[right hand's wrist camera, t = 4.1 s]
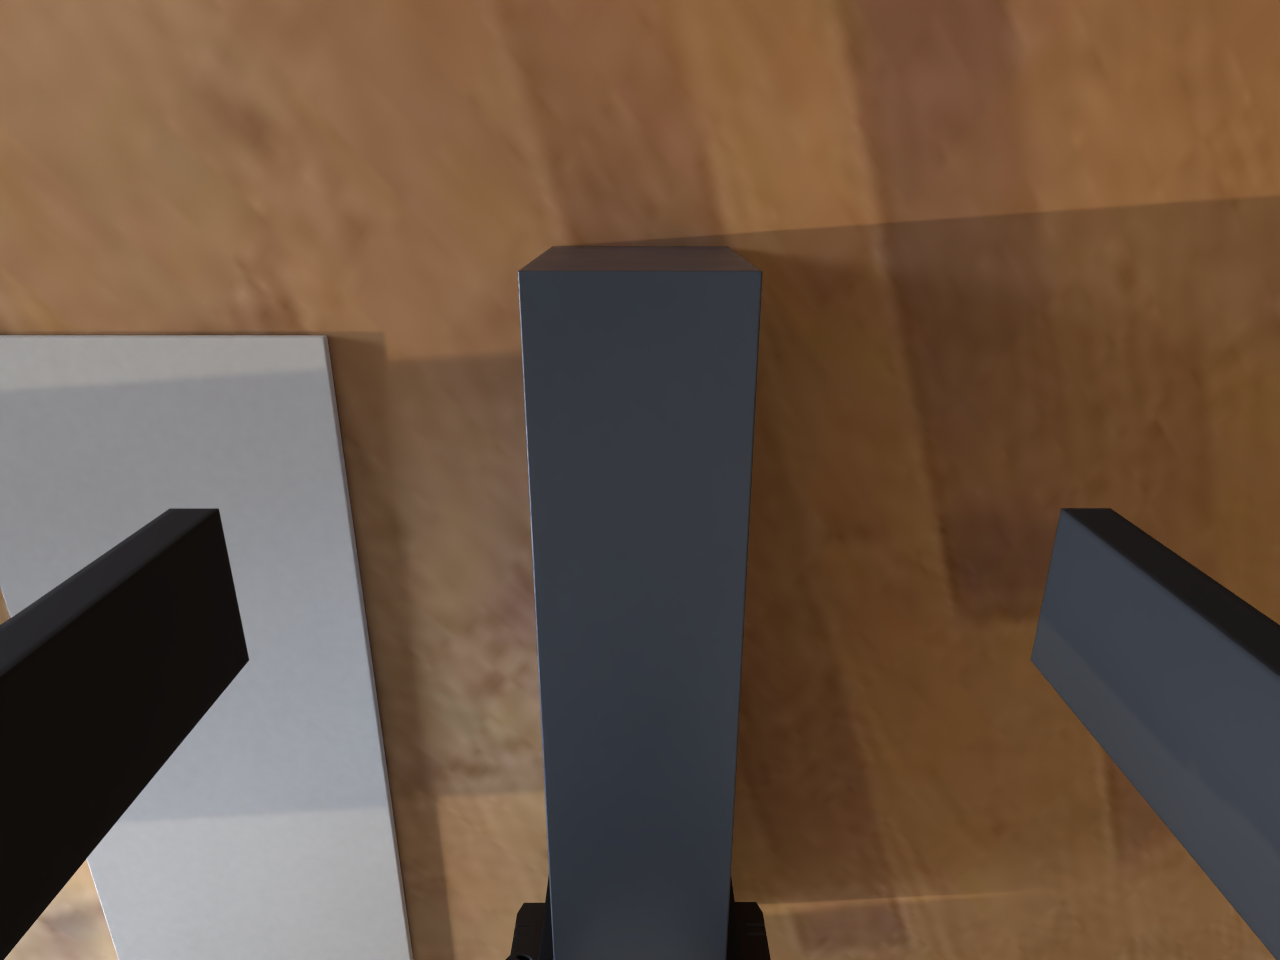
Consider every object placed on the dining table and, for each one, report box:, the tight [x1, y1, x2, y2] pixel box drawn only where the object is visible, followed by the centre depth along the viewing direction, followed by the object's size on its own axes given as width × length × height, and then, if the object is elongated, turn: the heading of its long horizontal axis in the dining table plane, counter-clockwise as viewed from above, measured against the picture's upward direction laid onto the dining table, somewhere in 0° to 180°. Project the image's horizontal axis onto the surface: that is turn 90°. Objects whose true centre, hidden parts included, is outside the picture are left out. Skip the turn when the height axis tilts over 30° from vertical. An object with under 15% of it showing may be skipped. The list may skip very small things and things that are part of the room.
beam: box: [518, 247, 762, 960], centre depth 28 cm, size 6×30×8 cm, turn 0°
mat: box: [0, 335, 413, 960], centre depth 34 cm, size 14×36×1 cm, turn 0°
